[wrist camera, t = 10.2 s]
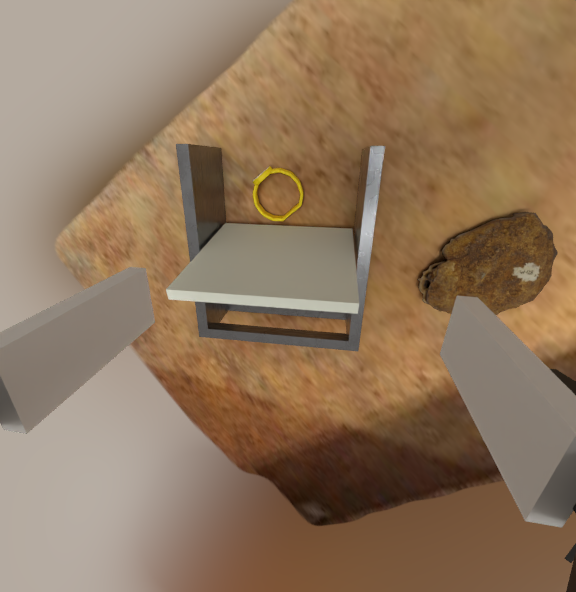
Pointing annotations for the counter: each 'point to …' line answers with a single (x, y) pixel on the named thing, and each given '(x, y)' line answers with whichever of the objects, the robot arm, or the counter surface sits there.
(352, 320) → the stand
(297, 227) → the trapdoor
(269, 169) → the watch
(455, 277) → the decorative rock
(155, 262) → the counter surface
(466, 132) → the counter surface
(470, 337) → the robot arm
